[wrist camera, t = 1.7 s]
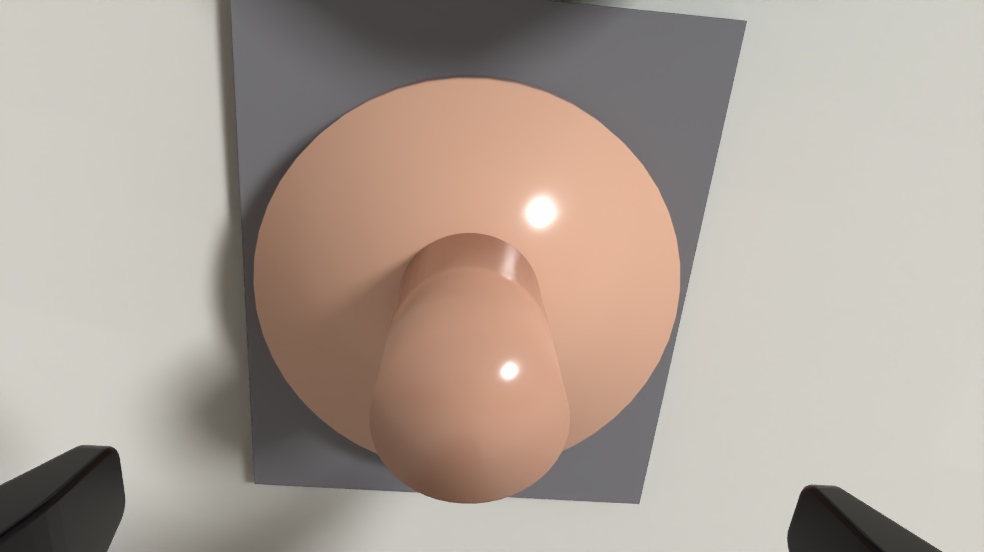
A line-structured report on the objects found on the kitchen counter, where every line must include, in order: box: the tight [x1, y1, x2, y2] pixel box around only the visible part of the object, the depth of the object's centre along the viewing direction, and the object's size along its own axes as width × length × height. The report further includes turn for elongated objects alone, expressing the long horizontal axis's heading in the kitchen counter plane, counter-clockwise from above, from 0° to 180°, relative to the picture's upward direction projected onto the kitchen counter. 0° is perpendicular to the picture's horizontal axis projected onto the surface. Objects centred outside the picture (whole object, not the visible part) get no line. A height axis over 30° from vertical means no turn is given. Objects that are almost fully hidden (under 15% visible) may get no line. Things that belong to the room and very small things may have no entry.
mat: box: [230, 0, 747, 504], centre depth 15 cm, size 12×10×1 cm
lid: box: [253, 75, 680, 503], centre depth 12 cm, size 9×9×6 cm
